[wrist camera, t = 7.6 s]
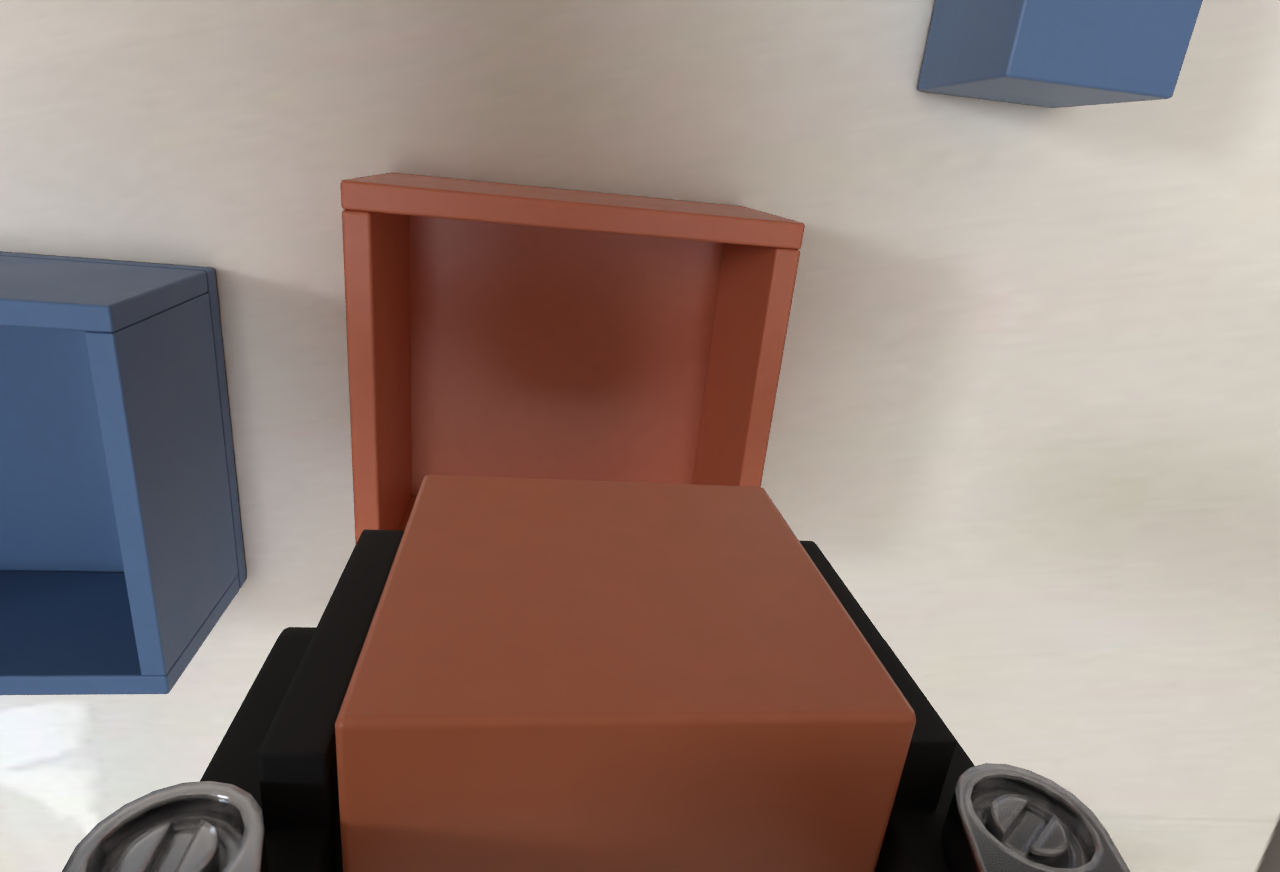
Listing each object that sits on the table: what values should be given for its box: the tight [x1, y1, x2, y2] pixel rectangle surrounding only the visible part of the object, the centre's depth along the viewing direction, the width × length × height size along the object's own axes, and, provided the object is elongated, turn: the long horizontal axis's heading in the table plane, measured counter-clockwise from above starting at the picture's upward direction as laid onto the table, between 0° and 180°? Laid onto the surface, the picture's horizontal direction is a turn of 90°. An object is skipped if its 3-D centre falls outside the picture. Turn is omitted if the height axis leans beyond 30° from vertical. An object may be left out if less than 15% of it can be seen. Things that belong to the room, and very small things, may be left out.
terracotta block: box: [335, 475, 916, 872], centre depth 8 cm, size 4×4×4 cm
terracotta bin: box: [341, 173, 804, 543], centre depth 21 cm, size 10×10×6 cm
